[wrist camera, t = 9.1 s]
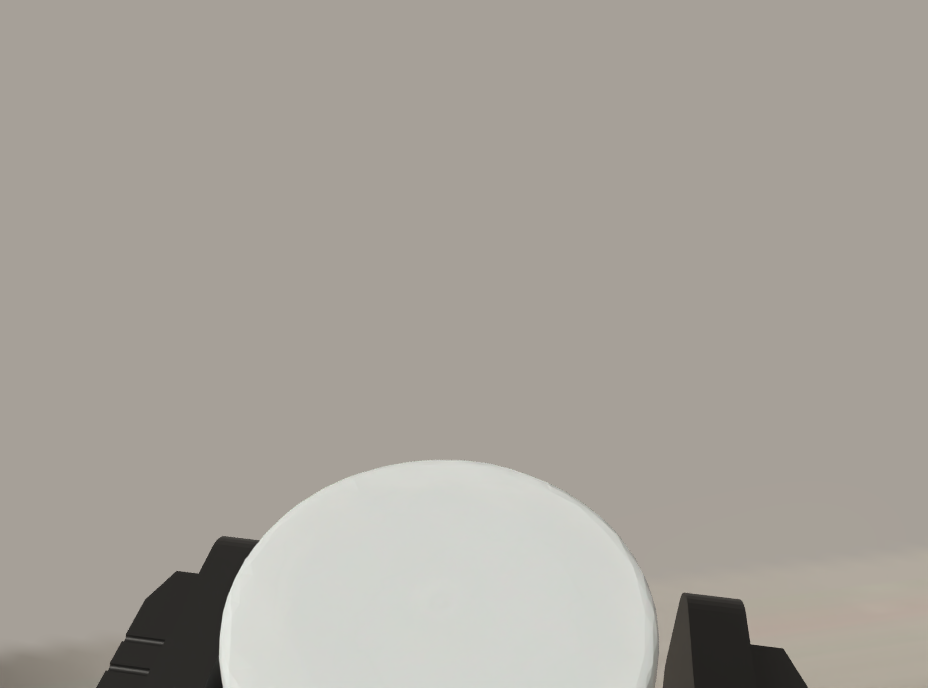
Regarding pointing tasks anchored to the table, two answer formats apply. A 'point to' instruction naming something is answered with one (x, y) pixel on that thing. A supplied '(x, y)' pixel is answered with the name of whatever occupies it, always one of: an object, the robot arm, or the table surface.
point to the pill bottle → (440, 589)
